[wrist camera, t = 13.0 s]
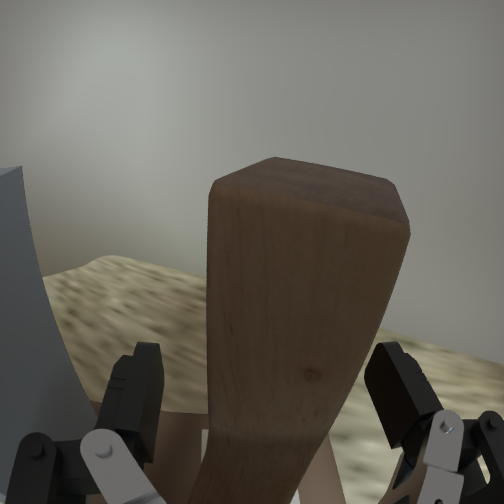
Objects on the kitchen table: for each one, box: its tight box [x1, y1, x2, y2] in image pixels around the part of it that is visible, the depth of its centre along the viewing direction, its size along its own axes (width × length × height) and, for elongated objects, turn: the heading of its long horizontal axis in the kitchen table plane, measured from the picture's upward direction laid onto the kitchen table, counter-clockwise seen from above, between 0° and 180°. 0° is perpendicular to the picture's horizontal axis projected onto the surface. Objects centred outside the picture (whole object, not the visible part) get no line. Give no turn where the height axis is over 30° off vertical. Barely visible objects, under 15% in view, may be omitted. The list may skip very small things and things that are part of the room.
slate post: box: [0, 166, 98, 504], centre depth 9 cm, size 4×9×18 cm, turn 4°
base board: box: [90, 401, 346, 504], centre depth 14 cm, size 22×14×1 cm, turn 94°
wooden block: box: [183, 157, 411, 504], centre depth 10 cm, size 9×4×18 cm, turn 159°
